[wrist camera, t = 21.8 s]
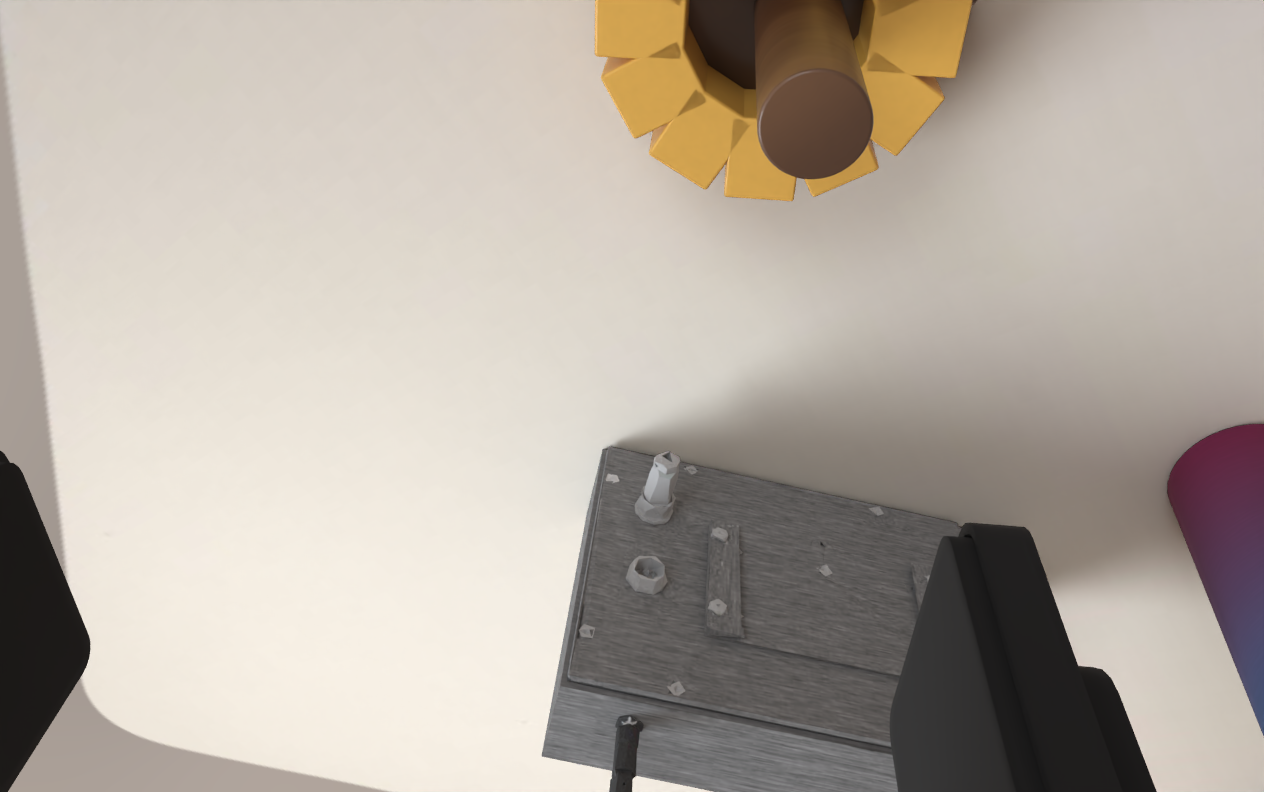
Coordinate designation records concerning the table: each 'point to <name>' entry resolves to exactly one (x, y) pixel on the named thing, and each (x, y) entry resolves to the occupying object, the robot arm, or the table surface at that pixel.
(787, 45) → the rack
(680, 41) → the yellow segmented ring
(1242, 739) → the table surface
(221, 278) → the table surface
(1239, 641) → the cup
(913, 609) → the electronic device
